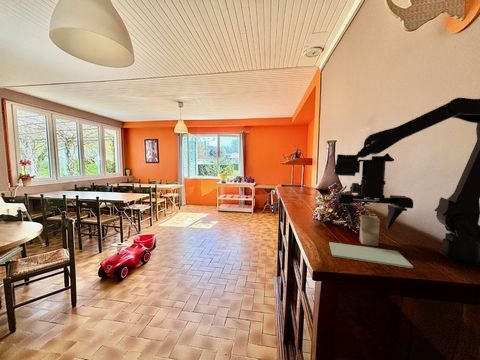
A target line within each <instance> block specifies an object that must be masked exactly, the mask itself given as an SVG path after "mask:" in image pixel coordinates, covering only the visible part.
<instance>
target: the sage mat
mask: <svg viewBox="0 0 480 360" xmlns="http://www.w3.org/2000/svg"><path fill="white" fill-rule="evenodd" d="M328 244H329V248H330V252H331V255H332V257H335V258H342V259H347V260H355V261H359V262H360V261H361V262H367V263H374V264H379V265H380V264H381V265H387V266H393V267H401V268H406V269H414V266H413V265H412V264H411V263H410V262H409V261H408V260H407V259H406V258H405V256H403V255H402V254H401V253H400V252H399V251H398V250H393V249H392V250H391V249H384V248H377V247H370V246H362V245H355V244H354V245H353V244H345V243H339V242H331V241H329V242H328Z"/></svg>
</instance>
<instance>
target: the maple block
mask: <svg viewBox="0 0 480 360" xmlns="http://www.w3.org/2000/svg"><path fill="white" fill-rule="evenodd" d="M380 223H381V219H379V218H378V217H377V216H374V215H372V216H371V215H363V214H361V215H360V225H359V226H360V227H359V239H358V240H359V242H360V243H361V244H362V245H365V246H366V245H367V246H373V247H374V246H375V247H379V235H380Z"/></svg>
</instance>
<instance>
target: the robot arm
mask: <svg viewBox="0 0 480 360" xmlns="http://www.w3.org/2000/svg"><path fill="white" fill-rule="evenodd" d="M451 118H454V119H458V120H461V121H464V122H469V123H474V124H476V128H475V129H476V130H475V131H476V142H475V144H474V147H473V149H472V151H471V153H470V155H469V158H468V160H467V163H466V164H465V167H464V169H463V171H462V173H461V175H460V179H458V182H457V185H456V187H455V189H454V191H453V193H452V194H451V195H450V196H449V197H448V198H445V197H442V196H441V197H440V198H439V201H438V204H437V207H436V208H435V209H434V212H435V213H436V216H435V217H436V219H437V220H438V222H439V223H440V224H442V226H444V228H445V230H446V231H447V232H445V235H444V236H445V238H442V244H441V251H439V254H441V256H444V257H445V258H447V259H448V260H450V261H451V262H453V263H456V264H459V265H465V266H466V265H467V266H475V267H480V224H479V222H480V98H468V97H456V98H453V99H451V100H450V101H448V102H447V103H445V104H443V105H441V106H439V107H436V108H434V109H432V110H430V111H428V112H425V113H423V114H421V115H420V116H417V117H415V118H413V119H411V120H409V121H407V122H405V123H403V124H400V125H398V126H395V127H392V128H388V129H384V130H381V131H378V132H375V133H371V134H370V135H368V136H367V137H366V138H365V139H364V142H363V147H362V148H361V149H360V150H358V151H357V153H356V154H343V153H342V154H337V155H336V161H335V163H336V164H335V165H334V174H335V176H341V177H342V176H343V177H344V176H347V177H351V176H352V177H356V174H359V173H360V170H361V181H360V183H359V182H358V183H357V182H352V183H351V192H337V194H336V198H335V199H336V202H337V203H338V204H340V205H341V206H343V207H345V208H346V211H347V213H348V218H349V220H350V223H351V226H352V227H354V226H355V205H354V204H353V203H354V202H355V203H356V202H357V203H372V204H385V205H386V204H387V211H388V212H387V216H386V221H385V223H386V224H385V225H386V226H385V229H386V230H388V231H389V230H390V229H391V228H392V227H393V224H395V221H396V220H397V219H398V218H399V216H400V215H401V214H402V213H403V212H407V211H408V209H414V200H413V199H412V198H411V197H409V196H406V195H396V194H395V195H394V194H391V195H390V196H389V197H387V196H386V197H385V193H384V191H385V185H386V180H385V179H386V177H385V175H386V162H387V163H389V162H394V161H395V159H394V158H393V157H391V155H390V154H389V153H385V154H384V155H379V154H380V153H382V152H384V151H386V150H387V149H389V148H390V147H392V146H393V145H395V144H397V143H398V142H400V141H402V140H403V139H405V138H409V137H410V136H412V135H415V134H417V133H419V132H421V131H424V130H427V129H428V128H430V127H432V126H435V125H437V124H439V123H443V122H444V121H446V120H449V119H451ZM377 154H378V155H377ZM370 155H372V156H371V159H365V158H366V157H368V156H370ZM361 162H362V165H361ZM361 166H362V169H360V168H361ZM353 194H357V195H353ZM448 232H449V233H448Z"/></svg>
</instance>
